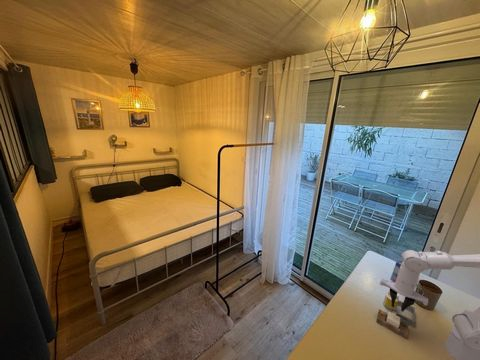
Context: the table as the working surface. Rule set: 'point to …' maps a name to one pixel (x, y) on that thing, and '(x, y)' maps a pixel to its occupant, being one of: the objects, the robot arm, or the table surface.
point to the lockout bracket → (405, 319)
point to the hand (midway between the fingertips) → (397, 307)
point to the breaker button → (393, 319)
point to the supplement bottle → (390, 302)
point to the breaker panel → (400, 331)
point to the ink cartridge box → (396, 271)
